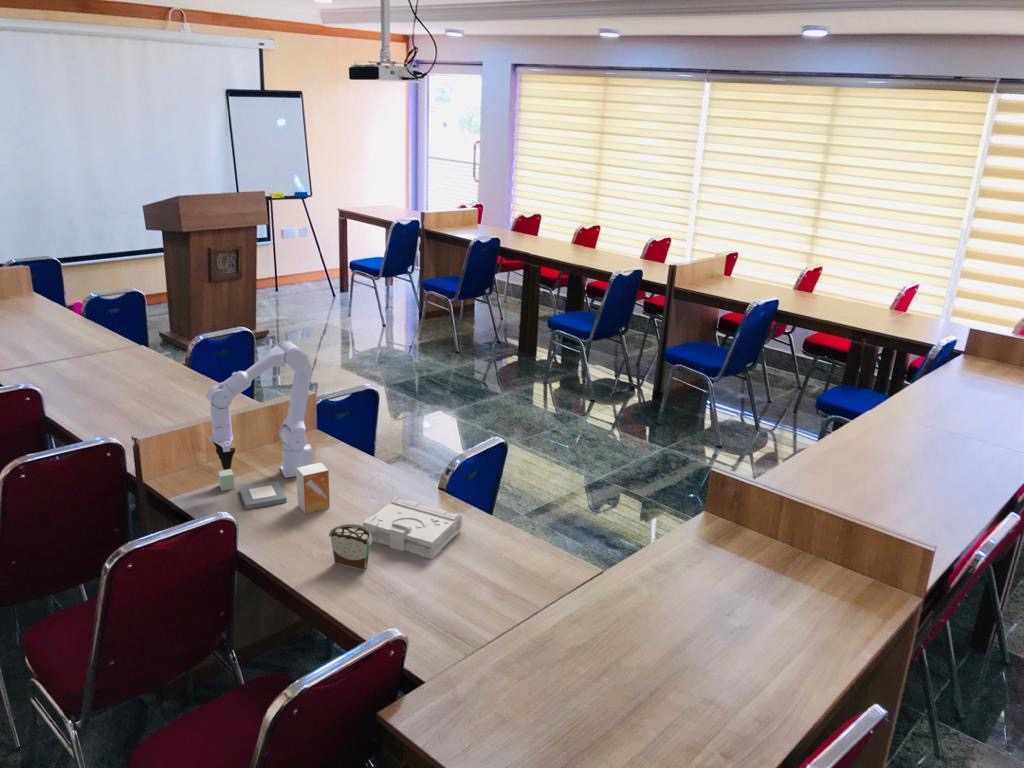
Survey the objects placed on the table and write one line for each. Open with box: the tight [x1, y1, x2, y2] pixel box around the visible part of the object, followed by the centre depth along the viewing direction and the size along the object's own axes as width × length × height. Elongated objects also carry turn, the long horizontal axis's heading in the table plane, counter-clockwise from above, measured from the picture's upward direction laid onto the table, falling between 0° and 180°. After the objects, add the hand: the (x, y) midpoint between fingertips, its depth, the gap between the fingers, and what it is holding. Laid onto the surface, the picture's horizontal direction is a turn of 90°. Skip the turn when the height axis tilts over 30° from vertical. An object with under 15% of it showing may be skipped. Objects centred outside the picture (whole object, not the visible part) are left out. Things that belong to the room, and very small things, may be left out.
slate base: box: [238, 480, 288, 510], centre depth 261 cm, size 12×12×2 cm
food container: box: [328, 523, 373, 571], centre depth 228 cm, size 12×6×10 cm, turn 71°
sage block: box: [218, 468, 235, 492], centre depth 266 cm, size 4×4×5 cm
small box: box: [295, 462, 331, 514], centre depth 255 cm, size 8×6×13 cm
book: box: [363, 496, 463, 560], centre depth 244 cm, size 19×28×8 cm
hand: (225, 463), depth 264 cm, fingers open, 7 cm apart
